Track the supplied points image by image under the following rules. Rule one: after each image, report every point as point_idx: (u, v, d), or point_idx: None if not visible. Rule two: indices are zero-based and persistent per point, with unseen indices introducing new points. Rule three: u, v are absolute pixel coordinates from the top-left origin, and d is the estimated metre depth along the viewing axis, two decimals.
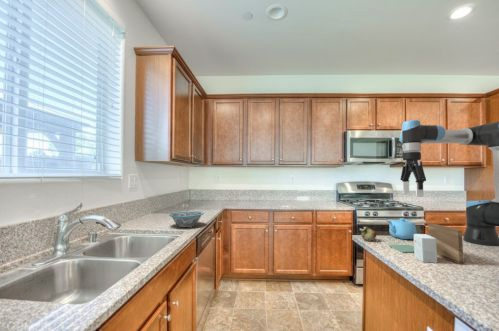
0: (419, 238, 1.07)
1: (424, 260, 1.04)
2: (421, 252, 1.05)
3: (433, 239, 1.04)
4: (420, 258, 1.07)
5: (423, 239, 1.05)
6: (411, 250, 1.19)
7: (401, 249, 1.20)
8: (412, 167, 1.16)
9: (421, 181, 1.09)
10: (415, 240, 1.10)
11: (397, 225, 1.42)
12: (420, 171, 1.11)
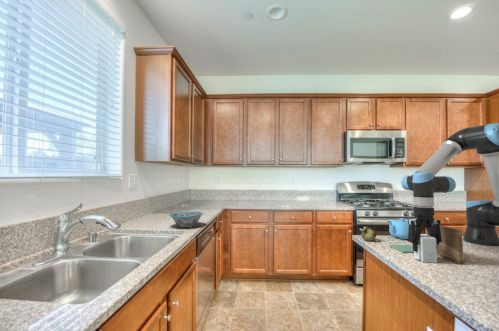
0: None
1: (424, 260, 1.04)
2: (422, 252, 1.05)
3: (433, 239, 1.04)
4: None
5: (423, 239, 1.05)
6: (411, 250, 1.19)
7: (401, 249, 1.20)
8: None
9: (411, 242, 1.08)
10: None
11: (397, 225, 1.42)
12: (409, 232, 1.08)
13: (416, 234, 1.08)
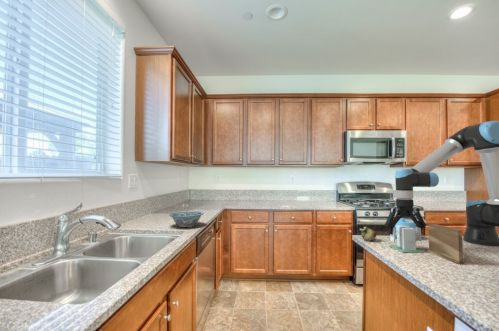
0: (401, 229, 1.22)
1: (405, 248, 1.19)
2: (403, 241, 1.20)
3: (412, 229, 1.19)
4: (401, 246, 1.22)
5: (404, 229, 1.20)
6: (411, 250, 1.19)
7: (401, 249, 1.20)
8: None
9: (387, 226, 1.23)
10: (398, 231, 1.25)
11: (397, 225, 1.42)
12: (388, 218, 1.23)
13: (394, 220, 1.23)
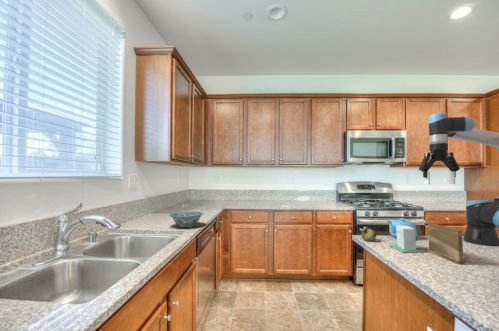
0: (401, 229, 1.22)
1: (405, 248, 1.19)
2: (403, 241, 1.20)
3: (412, 229, 1.19)
4: (401, 246, 1.22)
5: (404, 229, 1.20)
6: (411, 250, 1.19)
7: (401, 249, 1.20)
8: (432, 158, 1.27)
9: (421, 170, 1.26)
10: (398, 231, 1.25)
11: (397, 225, 1.42)
12: (423, 162, 1.26)
13: (428, 164, 1.26)
